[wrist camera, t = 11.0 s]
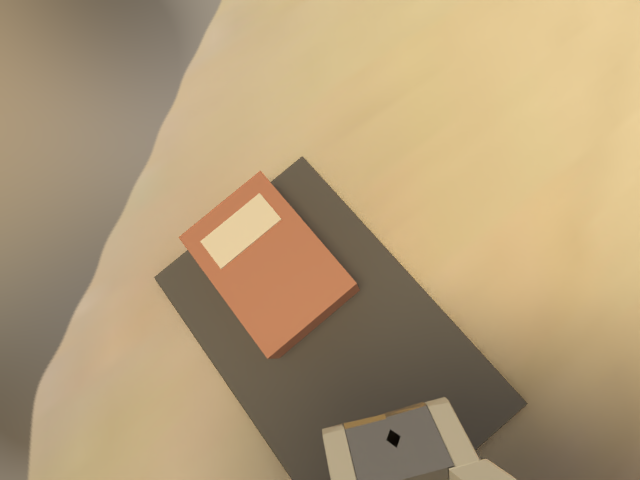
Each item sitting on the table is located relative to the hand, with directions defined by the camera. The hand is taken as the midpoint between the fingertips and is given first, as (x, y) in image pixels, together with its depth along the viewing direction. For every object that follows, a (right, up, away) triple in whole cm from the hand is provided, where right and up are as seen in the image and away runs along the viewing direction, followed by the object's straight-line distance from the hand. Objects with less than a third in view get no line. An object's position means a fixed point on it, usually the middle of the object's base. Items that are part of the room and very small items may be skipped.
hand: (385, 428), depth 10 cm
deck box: (-2, -1, +17) cm, 17 cm away
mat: (-1, -2, +19) cm, 19 cm away
